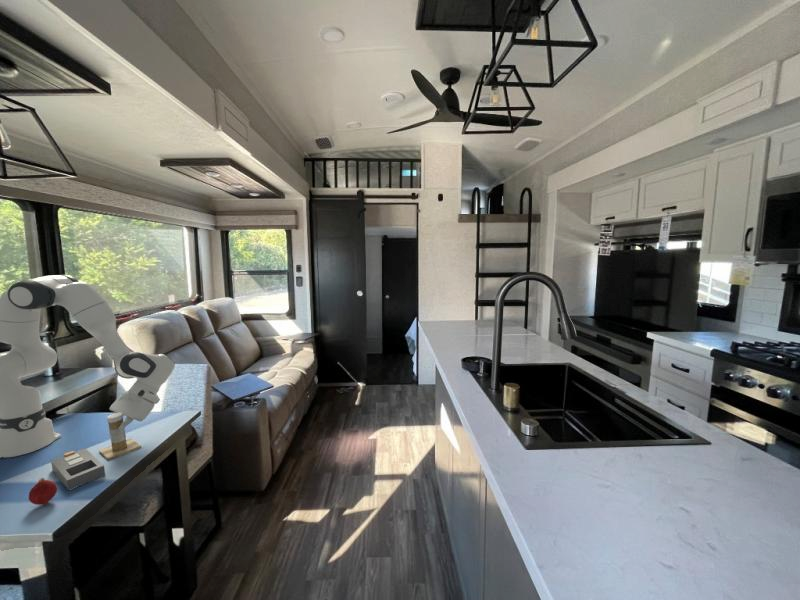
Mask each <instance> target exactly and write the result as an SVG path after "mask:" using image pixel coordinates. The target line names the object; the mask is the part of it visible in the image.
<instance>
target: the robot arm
mask: <svg viewBox="0 0 800 600" xmlns="http://www.w3.org/2000/svg"><path fill="white" fill-rule="evenodd" d="M56 305H57V306H61V307H63V308H65V310H67V312H68V313H69V314H70V316H71V317H72V318H73V320H75V322H76V323H77V324H78V325H79V326H80V327H82V328H83V329H84V330H85V331H86V332H87V333H88V334H90V335H91V336H92V337H93V338H95V340H97V341H98V342H99V343H100V344H101V345H102V347H103V349H104V350H105V351H106V352H107V353H108V355H109V356H110V357H111V359H112V361H113V366H114V367H113V368H114V371H115V373H116V375H117V376H119V377H120V378H124V379H127V380H129V379H134V378H135V379H136V380H135V382H134V383H133V384H132V386H131V387H130V388H129V389H128V390H127V391H125V392H123V393H121V394H120V395H118V398H116V399H115V401H114V402H113V403H112V404H111V405H110V407H109V411H111V412H114V413H122V414H123V417H124V416H125V419H124V420H123V423H122V424H119V426H118V427H117V428H118V429H120V430H124V428H127V426H129V425H130V424H131V423H132V422H133V421H137V422H143V421H144V420H145V419H146V418H147V417H148V416H149V414H150V413H151V412H152V410H154V407H155V406H156V405H157V404H158V403H159V402H160V401H161V400H160V399H161V398H160V397H159V396H158V392H159V391H160V388H161V387H162V385H163V384H164V383H166V382H167V380H168V379H169V378H170V377H171V375H172V373H173V371H174V370H175V367H176V364H175V361H174V360H173V359H172V358H171V357H170V356H168V355H166V354H163V353H159V354H151V353H144V352H140V351H139V352H138V351H136V352H135V351H131V349H130V348H129V347H128V346H127V344H126V343H125V342H124V340H123V339H122V338H121V336H120V335H119V333H118V330H117V319H116V318H117V317H116V315H115V313H114V311H113V308H112V307H111V306H110V305H109V303H108V301H106V299H105V298H104V297H103V296H102V294H100V293H99V291H97V289H95V288H94V287H93V286H92V285H90V284H89V283H87V282H85V281H79V280H78V279H77V277H74V276H71V275H69V274H68V275H67V274H54V275H44V276H43V275H42V276H38V277H34V278H30V279H24V280H23V279H22V280H20V281H18V282H15V283H13V284H12V285H10V286H9V288H8V289H7V290H6V289H5V291H3V292H2V293H1V295H0V343H3V344H7V345H11V349H9V351H8V350H7V351H4V352H0V458H2V457H3V458H13V457H18V456H22V455H26V454H29V453H33V452H35V451H38V450H41V449H43V448H45V447H46V446H49V445H50V444H51V443H53V442H54V441H56V440H59V439H60V438H61V437H62V435H61V433H58V432H55V429H54V424H53V421H52V419H50V418H47V417H46V410H45V407H43V402H42V397H41V391H40V390H39V389H38V388H37V387H34V386H29V385H24V384H22V382H21V378H24V377H28V376H33V375H35V374H39V373H41V372H45V371H46V370H49V369H50V368H53V367H54V366H55V365H56V363H57V362H58V354H57V351H56V350H55V349H53V348H52V347H51V346H48V345H46V344H45V343H44V342H43V341H42V340H41V335H40V323H41V311H42V309H44V308H50V307H52V306H56Z"/></svg>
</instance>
